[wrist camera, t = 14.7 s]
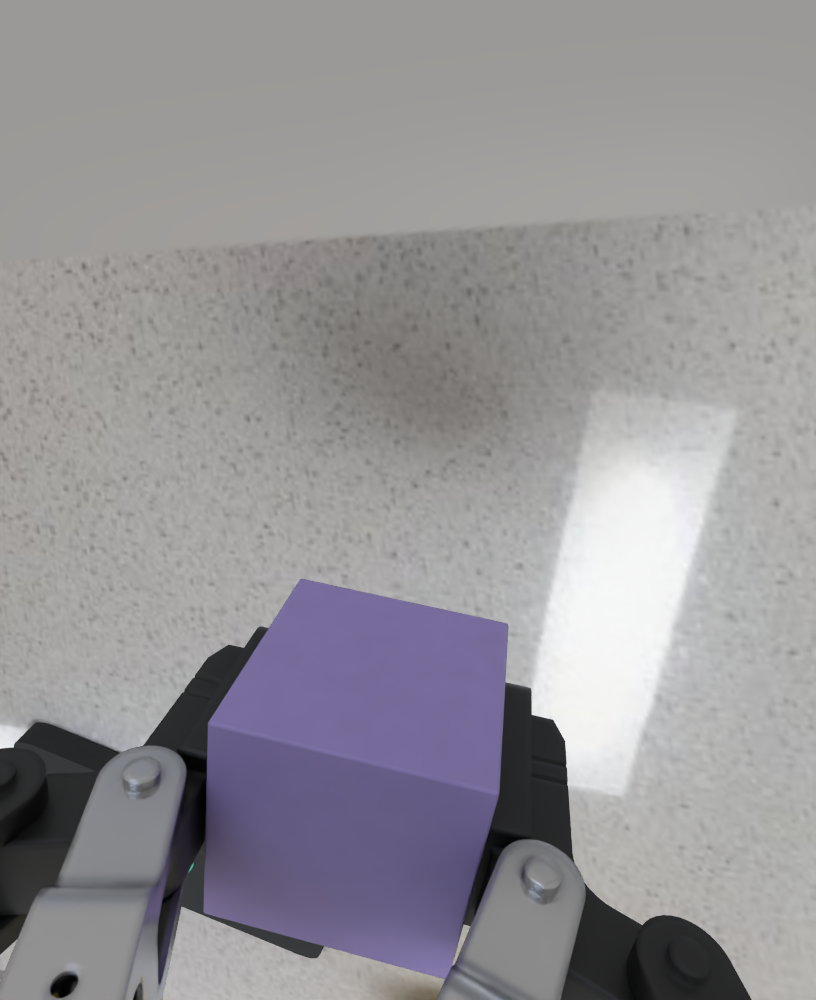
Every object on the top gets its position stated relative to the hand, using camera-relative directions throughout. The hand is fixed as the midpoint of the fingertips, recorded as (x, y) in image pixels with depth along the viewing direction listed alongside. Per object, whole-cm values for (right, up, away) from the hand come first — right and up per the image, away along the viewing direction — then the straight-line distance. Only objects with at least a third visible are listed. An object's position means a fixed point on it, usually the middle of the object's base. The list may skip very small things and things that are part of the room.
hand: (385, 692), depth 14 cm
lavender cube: (0, 0, 0) cm, 0 cm away
